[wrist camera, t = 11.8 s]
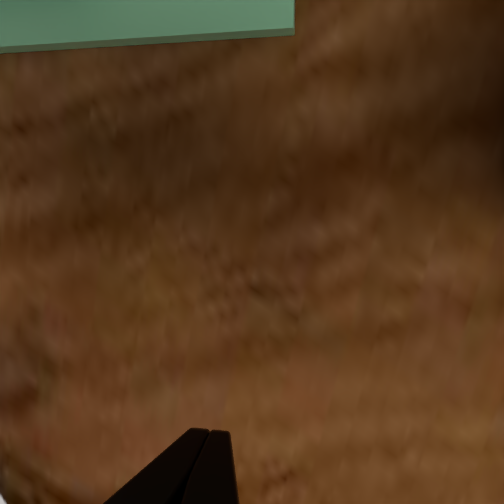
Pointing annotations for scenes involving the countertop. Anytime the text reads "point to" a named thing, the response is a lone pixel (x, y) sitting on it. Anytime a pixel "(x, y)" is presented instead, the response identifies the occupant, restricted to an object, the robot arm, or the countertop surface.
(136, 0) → the board
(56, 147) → the countertop surface
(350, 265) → the countertop surface
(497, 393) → the countertop surface
